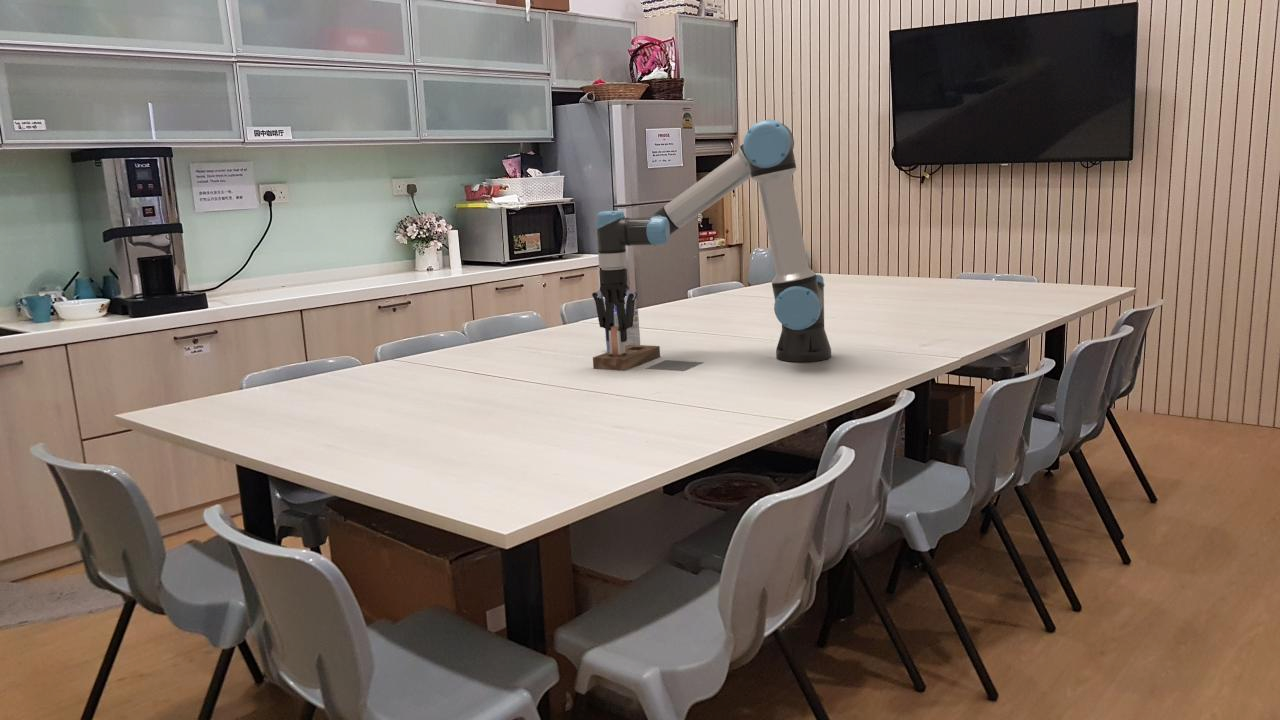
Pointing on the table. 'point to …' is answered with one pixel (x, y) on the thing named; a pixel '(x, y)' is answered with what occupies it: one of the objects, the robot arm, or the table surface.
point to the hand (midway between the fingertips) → (617, 353)
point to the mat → (674, 365)
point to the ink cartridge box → (628, 330)
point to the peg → (615, 341)
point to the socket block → (627, 358)
